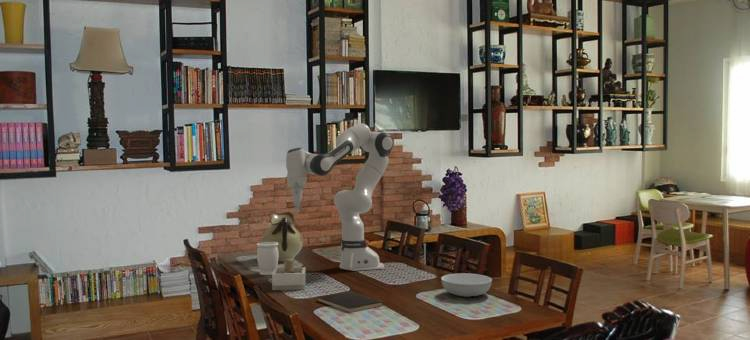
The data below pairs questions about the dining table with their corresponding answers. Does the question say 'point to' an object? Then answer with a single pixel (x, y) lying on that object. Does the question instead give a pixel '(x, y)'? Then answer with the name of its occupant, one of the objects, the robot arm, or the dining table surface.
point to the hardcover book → (349, 301)
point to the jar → (267, 257)
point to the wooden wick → (288, 266)
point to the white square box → (289, 279)
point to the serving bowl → (466, 284)
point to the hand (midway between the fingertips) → (298, 211)
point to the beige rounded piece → (284, 235)
